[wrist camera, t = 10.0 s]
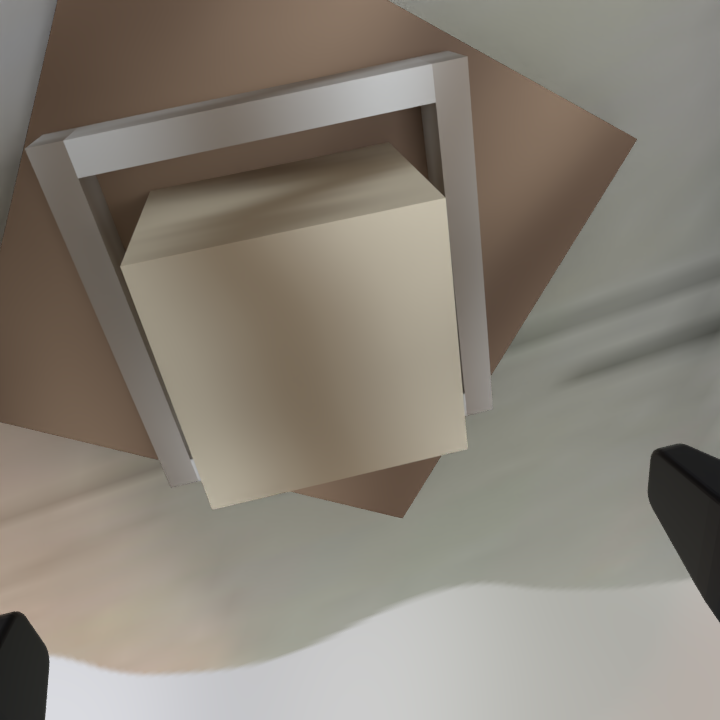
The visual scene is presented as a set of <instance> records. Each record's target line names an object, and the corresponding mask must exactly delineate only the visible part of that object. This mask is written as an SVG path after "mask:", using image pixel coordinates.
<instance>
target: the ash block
mask: <svg viewBox="0 0 720 720" xmlns="http://www.w3.org/2000/svg"><path fill="white" fill-rule="evenodd" d="M120 268H121V270H122V273H123V276H124V278H125V281H126V283H127V286H128V289H129V291H130V294H131V297H132V299H133V302H134V305H135V307H136V310H137V312H138V315H139V318H140V320H141V323H142V326H143V328H144V331H145V334H146V336H147V339H148V341H149V344H150V347H151V349H152V352H153V355H154V357H155V360H156V363H157V365H158V368H159V370H160V373H161V376H162V378H163V381H164V384H165V386H166V389H167V392H168V394H169V397H170V399H171V402H172V405H173V407H174V410H175V413H176V415H177V418H178V421H179V423H180V426H181V428H182V431H183V434H184V436H185V439H186V442H187V444H188V447H189V450H190V452H191V455H192V457H193V460H194V463H195V465H196V468H197V471H198V473H199V476H200V479H201V481H202V484H203V486H204V489H205V492H206V494H207V497H208V500H209V502H210V505H211V508H212V510H214V509H218V508H223V507H227V506H231V505H235V504H239V503H244V502H248V501H252V500H256V499H260V498H265V497H269V496H273V495H277V494H281V493H286V492H290V491H294V490H298V489H302V488H307V487H311V486H315V485H319V484H323V483H328V482H332V481H336V480H340V479H344V478H348V477H353V476H357V475H361V474H365V473H369V472H374V471H378V470H382V469H386V468H390V467H395V466H399V465H403V464H407V463H411V462H416V461H420V460H424V459H428V458H432V457H437V456H441V455H445V454H449V453H453V452H458V451H462V450H466V449H468V445H467V434H466V423H465V411H464V400H463V389H462V377H461V366H460V355H459V343H458V332H457V321H456V309H455V298H454V287H453V275H452V264H451V253H450V241H449V230H448V218H447V207H446V198H445V197H444V196H443V195H442V194H441V193H440V192H439V191H438V190H437V189H436V188H435V187H434V186H433V185H432V184H431V183H430V182H429V181H428V180H427V179H426V178H425V177H424V176H423V175H422V174H421V173H420V172H419V171H418V170H417V169H416V168H415V167H414V166H413V165H412V164H411V163H410V162H409V161H408V160H407V159H405V158H404V157H403V156H402V155H401V154H400V153H399V152H398V151H397V150H396V149H395V148H394V147H393V146H392V145H391V144H390V143H389V142H388V143H383V144H378V145H373V146H368V147H363V148H358V149H354V150H349V151H344V152H339V153H334V154H329V155H324V156H319V157H314V158H309V159H304V160H299V161H295V162H290V163H285V164H280V165H275V166H270V167H265V168H260V169H255V170H250V171H245V172H241V173H236V174H231V175H226V176H221V177H216V178H211V179H206V180H201V181H196V182H191V183H186V184H182V185H177V186H172V187H167V188H162V189H157V190H152V191H150V193H149V196H148V198H147V201H146V203H145V206H144V208H143V211H142V213H141V216H140V218H139V221H138V223H137V226H136V228H135V231H134V233H133V236H132V238H131V241H130V243H129V246H128V248H127V251H126V253H125V256H124V258H123V261H122V263H121V265H120Z"/></svg>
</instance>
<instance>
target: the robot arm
mask: <svg viewBox="0 0 720 720" xmlns="http://www.w3.org/2000/svg"><path fill="white" fill-rule="evenodd" d="M648 497H649V501H650V504H651V506H652V508H653V510H654V512H655V514H656V516H657V517H658V519H659V521H660V523H661V524H662V526H663V528H664V530H665V532H666V533H667V535H668V537H669V539H670V541H671V542H672V544H673V546H674V548H675V549H676V551H677V553H678V555H679V557H680V558H681V560H682V562H683V564H684V565H685V567H686V569H687V571H688V573H689V574H690V576H691V578H692V580H693V581H694V583H695V585H696V587H697V588H698V590H699V591H700V593H701V595H702V597H703V598H704V600H705V602H706V603H707V604H708V606H709V608H710V609H711V610H712V612H713V613H714V615H715V616H716V618H717V619H718V620H719V622H720V459H718V458H716V457H713V456H711V455H709V454H706V453H704V452H702V451H699V450H697V449H695V448H693V447H690V446H688V445H685V444H674V445H670V446H666V447H662V448H658V449H656V450H654V451H653V453H652V455H651V460H650V471H649V482H648ZM48 675H49V655H48V651H47V648H46V646H45V644H44V643H43V641H42V640H41V638H40V637H39V635H38V634H37V632H36V631H35V629H34V628H33V627H32V625H31V624H30V622H29V621H28V619H27V618H26V616H25V615H24V614H22V613H20V612H10V613H6V614H2V615H0V720H45V713H46V699H47V687H48Z"/></svg>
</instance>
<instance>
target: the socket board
mask: <svg viewBox="0 0 720 720" xmlns="http://www.w3.org/2000/svg"><path fill="white" fill-rule="evenodd" d="M636 140H637V139H636V138H634V137H632V136H630V135H629V134H627V133H625V132H623V131H621V130H620V129H618V128H616V127H614V126H613V125H611V124H609V123H607V122H605V121H604V120H602V119H600V118H598V117H596V116H595V115H593V114H591V113H589V112H587V111H586V110H584V109H582V108H580V107H578V106H577V105H575V104H573V103H571V102H569V101H568V100H566V99H564V98H562V97H560V96H559V95H557V94H555V93H553V92H551V91H550V90H548V89H546V88H544V87H543V86H541V85H539V84H537V83H535V82H534V81H532V80H530V79H528V78H526V77H525V76H523V75H521V74H519V73H517V72H516V71H514V70H512V69H510V68H508V67H507V66H505V65H503V64H501V63H499V62H498V61H496V60H494V59H492V58H490V57H489V56H487V55H485V54H483V53H482V52H480V51H478V50H476V49H474V48H473V47H471V46H469V45H467V44H465V43H464V42H462V41H460V40H458V39H456V38H455V37H453V36H451V35H449V34H447V33H446V32H444V31H442V30H440V29H438V28H437V27H435V26H433V25H431V24H429V23H428V22H426V21H424V20H422V19H420V18H419V17H417V16H415V15H413V14H412V13H410V12H408V11H406V10H404V9H403V8H401V7H399V6H397V5H395V4H394V3H392V2H390V1H388V0H58V1H57V5H56V9H55V14H54V18H53V22H52V27H51V31H50V35H49V40H48V44H47V48H46V53H45V57H44V61H43V66H42V70H41V74H40V79H39V83H38V88H37V92H36V96H35V101H34V105H33V109H32V114H31V118H30V122H29V127H28V131H27V135H26V140H25V144H24V148H23V153H22V157H21V161H20V166H19V170H18V174H17V179H16V183H15V187H14V192H13V196H12V200H11V205H10V209H9V213H8V218H7V222H6V227H5V231H4V235H3V240H2V244H1V248H0V422H3V423H7V424H11V425H15V426H19V427H23V428H28V429H32V430H36V431H40V432H44V433H48V434H53V435H57V436H61V437H65V438H69V439H73V440H78V441H82V442H86V443H90V444H94V445H99V446H103V447H107V448H111V449H115V450H119V451H124V452H128V453H132V454H136V455H140V456H144V457H149V458H153V459H157V460H159V461H160V463H161V466H162V468H163V470H164V473H165V475H166V477H167V480H168V482H169V484H170V487H171V488H172V487H176V486H180V485H185V484H189V483H193V482H197V481H201V479H200V476H199V473H198V471H197V468H196V465H195V463H194V460H193V457H192V455H191V452H190V450H189V447H188V444H187V442H186V439H185V436H184V434H183V431H182V428H181V426H180V423H179V421H178V418H177V415H176V413H175V410H174V407H173V405H172V402H171V399H170V397H169V394H168V392H167V389H166V386H165V384H164V381H163V378H162V376H161V373H160V370H159V368H158V365H157V363H156V360H155V357H154V355H153V352H152V349H151V347H150V344H149V341H148V339H147V336H146V334H145V331H144V328H143V326H142V323H141V320H140V318H139V315H138V312H137V310H136V307H135V305H134V302H133V299H132V297H131V294H130V291H129V289H128V286H127V283H126V281H125V278H124V276H123V273H122V270H121V268H120V265H121V263H122V261H123V258H124V256H125V253H126V251H127V248H128V246H129V243H130V241H131V238H132V236H133V233H134V231H135V228H136V226H137V223H138V221H139V218H140V216H141V213H142V211H143V208H144V206H145V203H146V201H147V198H148V196H149V193H150V191H152V190H157V189H162V188H167V187H172V186H177V185H182V184H186V183H191V182H196V181H201V180H206V179H211V178H216V177H221V176H226V175H231V174H236V173H241V172H245V171H250V170H255V169H260V168H265V167H270V166H275V165H280V164H285V163H290V162H295V161H299V160H304V159H309V158H314V157H319V156H324V155H329V154H334V153H339V152H344V151H349V150H354V149H358V148H363V147H368V146H373V145H378V144H383V143H388V142H389V143H390V144H391V145H392V146H393V147H394V148H395V149H396V150H397V151H398V152H399V153H400V154H401V155H402V156H403V157H404V158H405V159H407V160H408V161H409V162H410V163H411V164H412V165H413V166H414V167H415V168H416V169H417V170H418V171H419V172H420V173H421V174H422V175H423V176H424V177H425V178H426V179H427V180H428V181H429V182H430V183H431V184H432V185H433V186H434V187H435V188H436V189H437V190H438V191H439V192H440V193H441V194H442V195H443V196H444V197H445V198H446V207H447V218H448V230H449V241H450V253H451V264H452V275H453V287H454V298H455V309H456V321H457V332H458V343H459V355H460V366H461V377H462V389H463V400H464V411H465V417H466V416H467V415H471V414H476V413H480V412H484V411H488V410H492V409H493V401H492V387H491V375H492V373H493V371H494V370H495V368H496V367H497V365H498V363H499V362H500V360H501V358H502V357H503V355H504V354H505V352H506V350H507V349H508V347H509V346H510V344H511V342H512V341H513V339H514V337H515V336H516V334H517V333H518V331H519V329H520V328H521V326H522V325H523V323H524V321H525V320H526V318H527V316H528V315H529V313H530V312H531V310H532V308H533V307H534V305H535V304H536V302H537V300H538V299H539V297H540V295H541V294H542V292H543V291H544V289H545V287H546V286H547V284H548V283H549V281H550V279H551V278H552V276H553V274H554V273H555V271H556V270H557V268H558V266H559V265H560V263H561V262H562V260H563V258H564V257H565V255H566V253H567V252H568V250H569V249H570V247H571V245H572V244H573V242H574V241H575V239H576V237H577V236H578V234H579V232H580V231H581V229H582V228H583V226H584V224H585V223H586V221H587V220H588V218H589V216H590V215H591V213H592V211H593V210H594V208H595V207H596V205H597V203H598V202H599V200H600V199H601V197H602V195H603V194H604V192H605V190H606V189H607V187H608V186H609V184H610V182H611V181H612V179H613V178H614V176H615V174H616V173H617V171H618V169H619V168H620V166H621V165H622V163H623V161H624V160H625V158H626V157H627V155H628V153H629V152H630V150H631V148H632V147H633V145H634V144H635V142H636ZM440 457H441V456H437V457H432V458H428V459H424V460H420V461H416V462H411V463H407V464H403V465H399V466H395V467H390V468H386V469H382V470H378V471H374V472H369V473H365V474H361V475H357V476H353V477H348V478H344V479H340V480H336V481H332V482H328V483H323V484H319V485H315V486H311V487H307V488H302V489H298V490H294V491H290V492H295V493H299V494H303V495H307V496H311V497H316V498H320V499H324V500H328V501H332V502H336V503H341V504H345V505H349V506H353V507H357V508H361V509H366V510H370V511H374V512H378V513H382V514H386V515H391V516H395V517H399V518H403V517H404V515H405V514H406V512H407V510H408V509H409V507H410V505H411V504H412V502H413V501H414V499H415V497H416V496H417V494H418V493H419V491H420V489H421V488H422V486H423V484H424V483H425V481H426V480H427V478H428V476H429V475H430V473H431V472H432V470H433V468H434V467H435V465H436V463H437V462H438V460H439V459H440Z"/></svg>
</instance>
